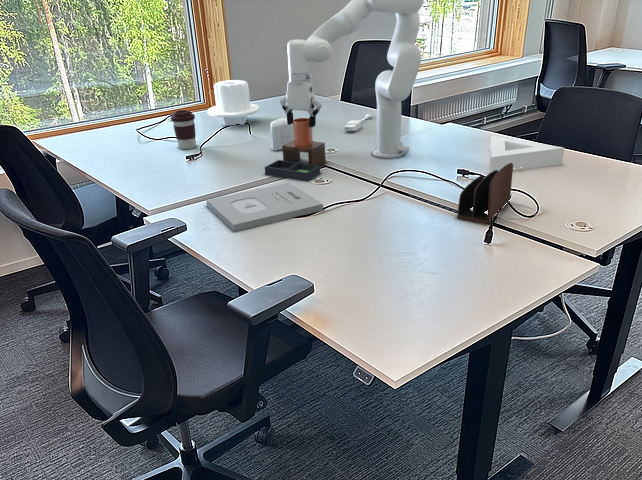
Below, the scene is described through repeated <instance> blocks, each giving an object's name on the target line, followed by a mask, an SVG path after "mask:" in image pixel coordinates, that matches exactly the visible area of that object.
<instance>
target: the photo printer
mask: <svg viewBox="0 0 642 480" xmlns="http://www.w3.org/2000/svg"><path fill="white" fill-rule="evenodd" d="M269 126H270V129H269V130H270V141H271V149H272V151H281V150H283V149H282V146H283V145H285V144H287V143H289V142H291V141H293V140H294V129H293V124H290V125H288V123H287V117H281V118H278V119H274V120H272V121H271V122H270V123H269Z"/></svg>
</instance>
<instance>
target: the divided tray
mask: <svg viewBox="0 0 642 480" xmlns="http://www.w3.org/2000/svg"><path fill="white" fill-rule="evenodd" d="M264 173H265V175H266V176H271V177H278V178H284V179H289V180H297V181H303V182H309V181H310V180H312V179H314V178H316V177H317V176H319V175H321V166H318V165H311V164H309V163H304V162H298V161H297V162H290V161H283V159H277V160H275V161H274V162H272V163H270V164H267V165H265V166H264Z"/></svg>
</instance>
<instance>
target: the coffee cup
mask: <svg viewBox="0 0 642 480" xmlns="http://www.w3.org/2000/svg"><path fill="white" fill-rule="evenodd" d="M195 119H196V115H195V114H194V113H192V112H191V111H190V110H188V109H181V110H176V111H174V112H173V114H172V115H170V121H171V122H172V127H173V130H174V131H173V132H174V135H175V138H176V140H177V145H178V148H179V149H180V150H191V149H194V148H196V147H197V142H196V138H197V137H196V135H197V134H196V123H195Z"/></svg>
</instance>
